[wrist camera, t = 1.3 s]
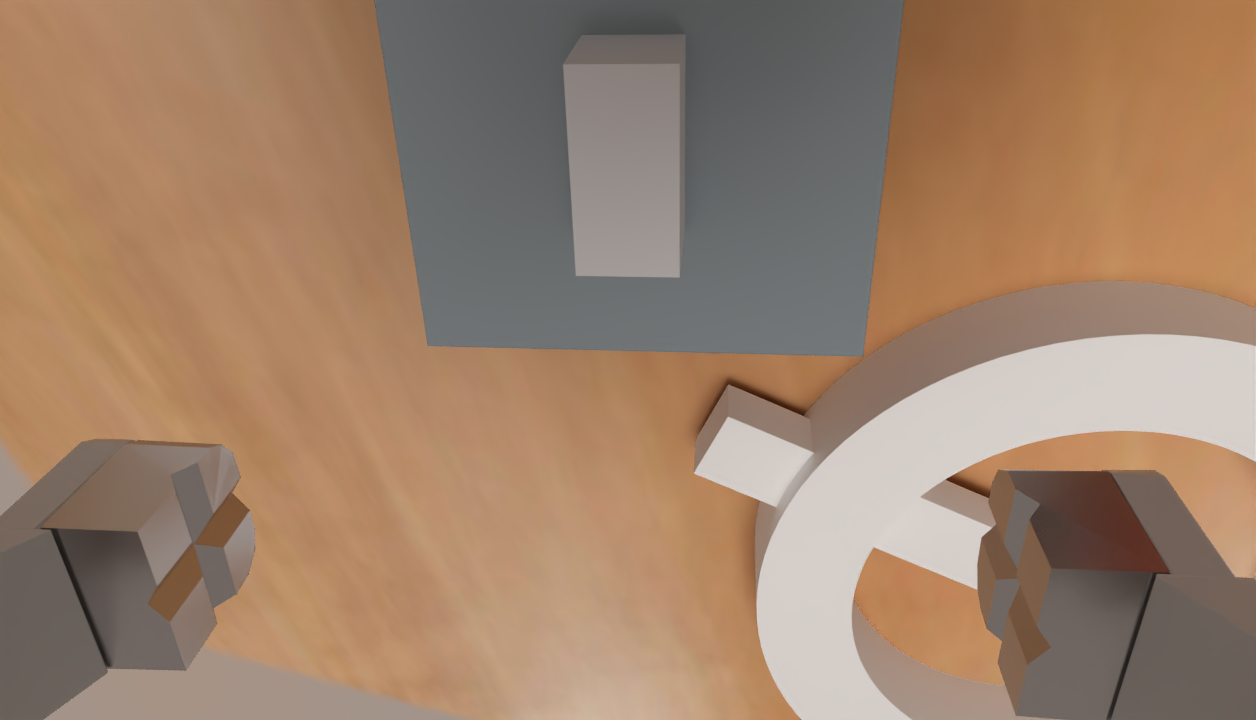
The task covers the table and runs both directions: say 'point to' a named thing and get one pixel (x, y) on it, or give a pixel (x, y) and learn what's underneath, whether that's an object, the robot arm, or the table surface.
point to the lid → (643, 169)
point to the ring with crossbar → (953, 463)
